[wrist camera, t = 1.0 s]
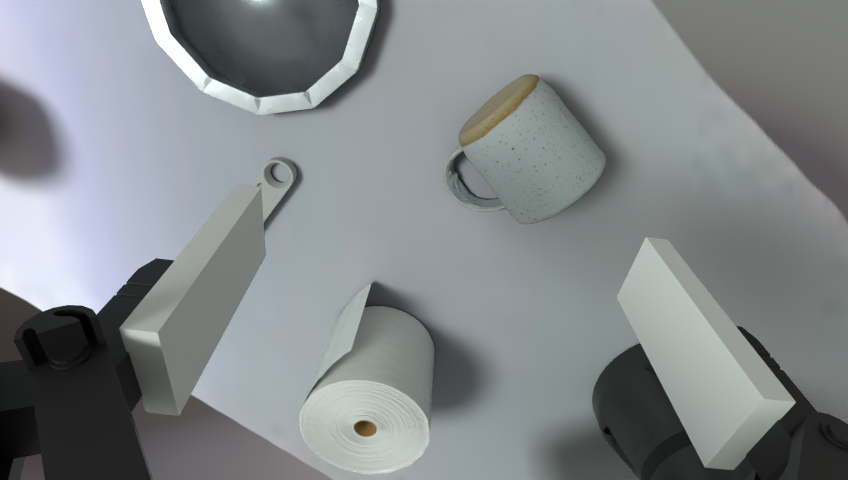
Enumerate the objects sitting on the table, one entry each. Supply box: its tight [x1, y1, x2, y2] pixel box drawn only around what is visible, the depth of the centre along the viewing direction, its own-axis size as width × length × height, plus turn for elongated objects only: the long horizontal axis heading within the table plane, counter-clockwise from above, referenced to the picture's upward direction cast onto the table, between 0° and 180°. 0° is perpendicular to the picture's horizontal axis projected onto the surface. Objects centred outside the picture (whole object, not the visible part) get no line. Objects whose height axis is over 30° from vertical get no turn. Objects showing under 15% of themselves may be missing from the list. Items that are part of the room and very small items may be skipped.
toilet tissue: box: [299, 282, 435, 475], centre depth 41 cm, size 11×12×10 cm
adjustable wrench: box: [251, 157, 297, 222], centre depth 42 cm, size 25×6×2 cm, turn 136°
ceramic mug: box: [444, 74, 606, 224], centre depth 32 cm, size 11×8×8 cm
